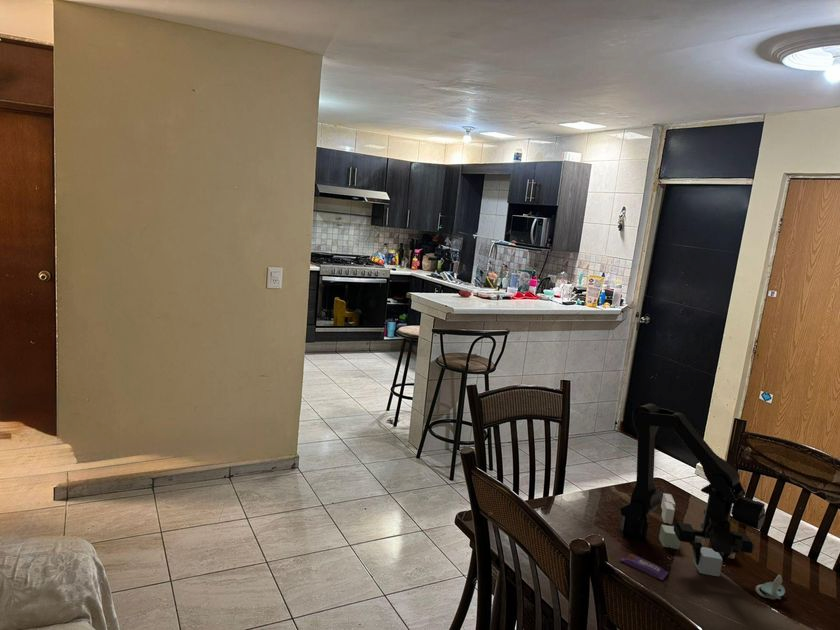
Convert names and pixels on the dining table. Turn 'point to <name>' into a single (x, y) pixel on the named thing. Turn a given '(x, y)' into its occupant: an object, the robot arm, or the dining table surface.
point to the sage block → (668, 537)
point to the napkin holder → (667, 508)
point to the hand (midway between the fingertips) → (707, 565)
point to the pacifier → (772, 589)
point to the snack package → (644, 566)
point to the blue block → (709, 562)
